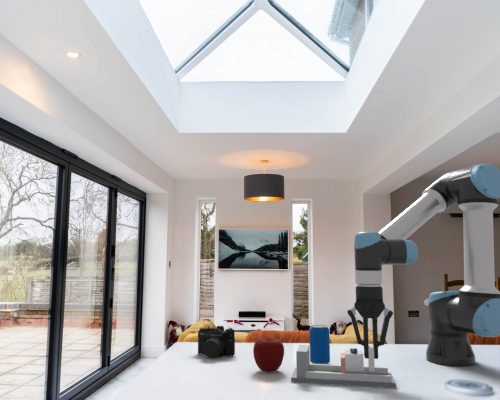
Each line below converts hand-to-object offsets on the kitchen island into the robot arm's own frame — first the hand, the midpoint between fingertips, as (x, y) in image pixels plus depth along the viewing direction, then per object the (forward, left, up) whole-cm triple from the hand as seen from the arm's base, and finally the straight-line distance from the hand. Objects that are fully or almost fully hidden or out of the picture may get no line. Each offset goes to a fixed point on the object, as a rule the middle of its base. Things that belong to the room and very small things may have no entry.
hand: (371, 370), depth 123 cm
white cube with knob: (+5, 0, -1) cm, 5 cm away
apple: (+30, -5, -3) cm, 31 cm away
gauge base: (+8, 0, -3) cm, 9 cm away
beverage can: (+15, -18, -3) cm, 24 cm away
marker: (+8, 0, -1) cm, 8 cm away
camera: (+53, -22, -3) cm, 57 cm away
